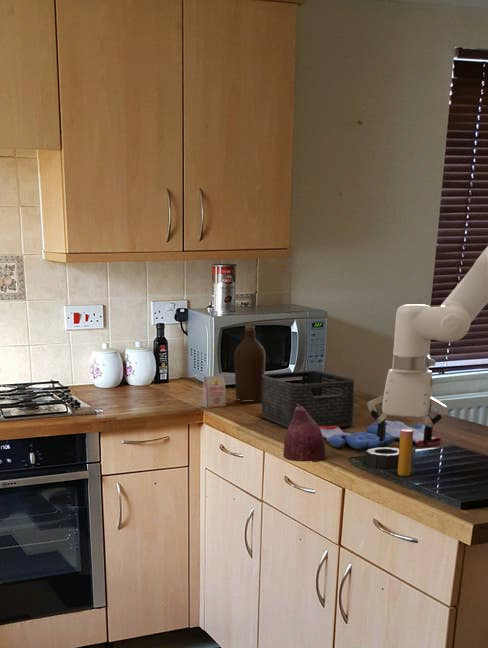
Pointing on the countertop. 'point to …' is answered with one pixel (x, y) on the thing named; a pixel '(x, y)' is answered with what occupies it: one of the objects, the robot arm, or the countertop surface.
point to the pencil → (405, 452)
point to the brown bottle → (249, 368)
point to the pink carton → (214, 391)
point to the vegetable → (303, 438)
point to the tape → (382, 457)
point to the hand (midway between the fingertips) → (403, 442)
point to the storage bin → (308, 398)
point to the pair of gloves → (374, 436)
